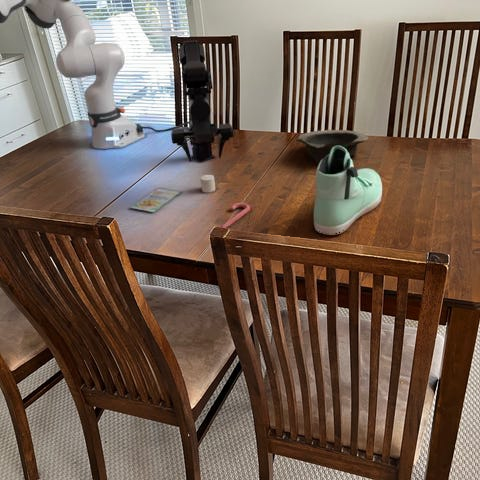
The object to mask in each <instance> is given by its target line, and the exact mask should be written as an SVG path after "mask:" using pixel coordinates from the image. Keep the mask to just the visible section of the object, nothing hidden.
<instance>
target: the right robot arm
mask: <svg viewBox="0 0 480 480" xmlns="http://www.w3.org/2000/svg"><path fill="white" fill-rule="evenodd" d="M177 50H178V56H179V57H178V59H179V64H180V65H182V70H183V72H181V77H182V84H183V93H184V96H185V97H186V96H187V97H188V99H187V100H188V105H189V114H190V120H189V121H190V123H189V128H188V131H185V130H184V128H183V127H182V128H175V129H172V130H170V131H171V132H170V136H171V143H172V144H174V145H176V146H178V147H179V146H180V147H181V148H182V149H183V151H184V153H185V155H186V157H187V159H188V161H189V162H190V163H191V162H192V159H194V160H196V161H198V162H200V163H203V162H205V161H209V160H211V159H214V158H216V156H215V155H214V154H213V149H212V144H214V142H215V136H218V142H217V143H218V147H217V148H218V149H217V150H218V151H217V153H218V159H221V158H222V153H223V149H224V146H225V144H226V142H227V141H230V139H232V138H234V137H235V135H234V128H233V126H232V124H231V123H221V124H218V125H217V123H211V112H212V111H211V106H210V101H209V96H208V95H209V94H212V90H213V89H214V88H213V86H214V85H213V80H212V73H211V72H210V70H209V69H207V68H206V64H205V63H204V62H206V54H205V46H204V45H202V44H200V42H199V40H196V39H195V40H186V41H183V42H182V45H181V46H179V48H178V49H177ZM217 126H218V127H217ZM187 139H189V144H190V146H192V147H191V152H192V155H191V152H190V147H189V144H188V140H187Z"/></svg>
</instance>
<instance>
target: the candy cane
mask: <svg viewBox="0 0 480 480" xmlns="http://www.w3.org/2000/svg"><path fill="white" fill-rule="evenodd" d="M238 208H239V209H240V208H244V209H242V210H241V211H240V212H238V213H237V214H235V215H234V216H233V217H232V218H230V219H229V220H227V221H226V222H224V223H223V224H222V225H221V226H220V228H221V227H226V229H227V228H229V227H230V226H231V225H233V224H234V223H236V222H237V221H238V220H240V219H241V218H242V217H244V216H245V215H246V214H248V213H249V212H250V211H251V206H250V204H248V203H246V202H237V203H234V204H231V206H230V207H229V209H230V211H232V212H233V211H235V210H236V209H238Z"/></svg>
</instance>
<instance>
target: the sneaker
mask: <svg viewBox="0 0 480 480" xmlns="http://www.w3.org/2000/svg"><path fill="white" fill-rule="evenodd" d="M317 165H318V166H317V168H316V172H315V201H314V207H313V225H314V229H315V231H316V232H318V233H320V234H323V235H326V236H327V235H328V236H336V235H339V234H342V233H344V232H345V231H347V230H348V229H349V228H350V227H351V226H352V225H353V224H354V222H356V221H357V220H358V219H359V218H360V217H362V216H363V215H365V214H367V213H370V212H372V210H374V209H375V208H377V207H378V205H380V203H381V200H382V196H383V184H382V183H383V182H382V179H381V176H380V175H379V173H378V172H377V171H376V170H374V169H372V168H367V167H365V168H358V169H357V168H355V167H354V161H353V158H350V156H349V153H348V152H347V150H346V149H345V148H344V147H342V146H334V147H333V148H332V149H331V152H330V154H329V155H327V156H326V157H325V158H324V159H322V160H321V161H320V163H319V164H317ZM343 230H344V231H343ZM319 231H320V232H319ZM322 232H323V233H322ZM339 232H340V233H339ZM326 233H327V234H326ZM328 233H329V234H328ZM335 233H337V234H335Z"/></svg>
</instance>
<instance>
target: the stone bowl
mask: <svg viewBox="0 0 480 480" xmlns="http://www.w3.org/2000/svg"><path fill="white" fill-rule="evenodd" d="M368 139H369V137H368V136H367V135H366V134H365V133H363V132H359V131H356V130H347V129H345V130H343V129H325V130H314V131H309V132H305V133H302V134H300V135H299V136H298V138H297V139H296V141H297V142H300V143H301V144H304V145H305V148H306V152H307V153H308V155H309V156H311V157H312V158H313V159H314V162H315V163H316V164H317V165H319V163H320V161H321V160H322V159H324V158H325V157H326V156H327V155H329V154H330V152H331V149H332V148H333V147H334V146H342V147H344V148H345V149H346V150H347V152H348V153H349V156H350V159H354V158H355V157H356V155H357V154H356V153H357V147H358V145H359V144H361V143H364V142H365V141H368Z"/></svg>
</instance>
